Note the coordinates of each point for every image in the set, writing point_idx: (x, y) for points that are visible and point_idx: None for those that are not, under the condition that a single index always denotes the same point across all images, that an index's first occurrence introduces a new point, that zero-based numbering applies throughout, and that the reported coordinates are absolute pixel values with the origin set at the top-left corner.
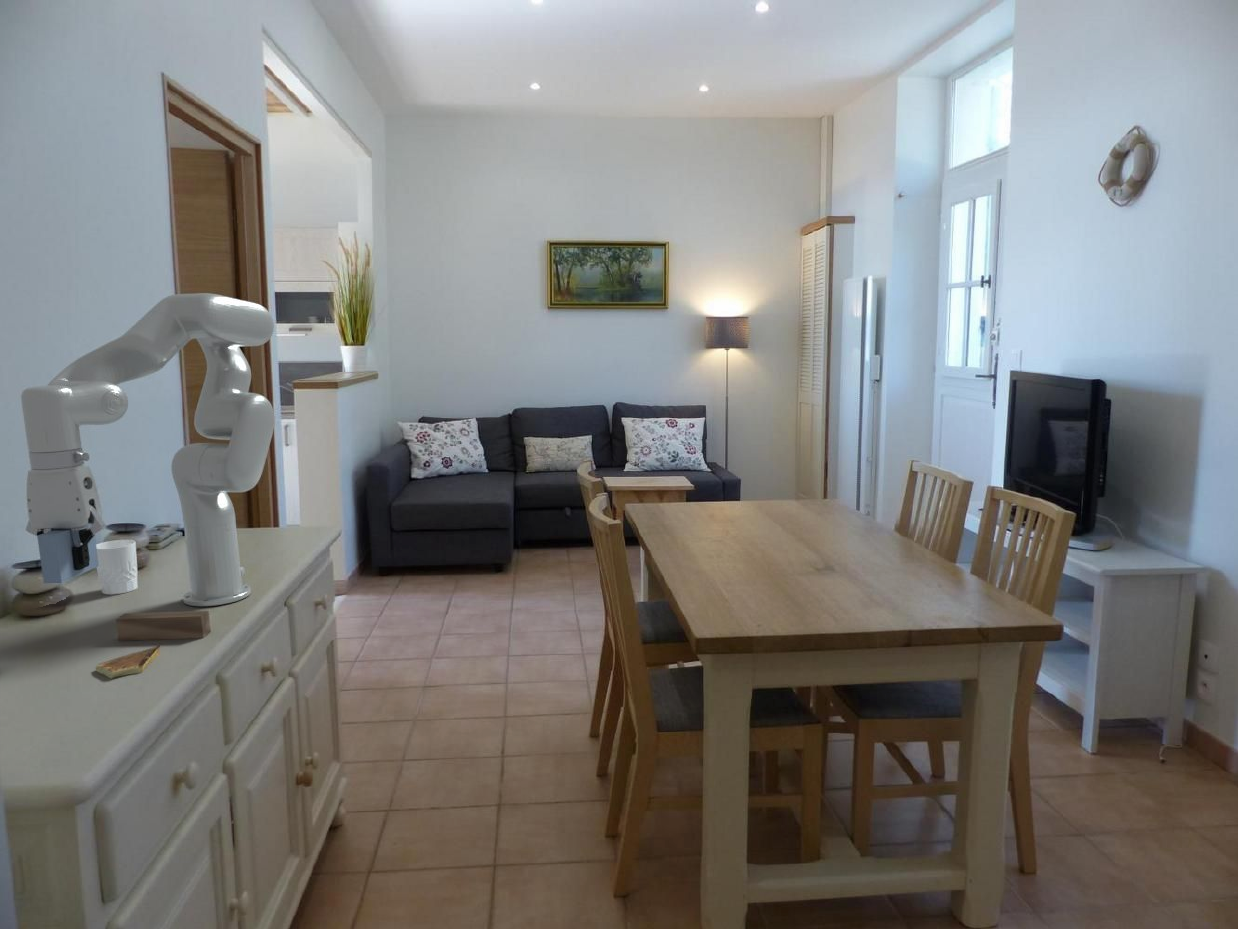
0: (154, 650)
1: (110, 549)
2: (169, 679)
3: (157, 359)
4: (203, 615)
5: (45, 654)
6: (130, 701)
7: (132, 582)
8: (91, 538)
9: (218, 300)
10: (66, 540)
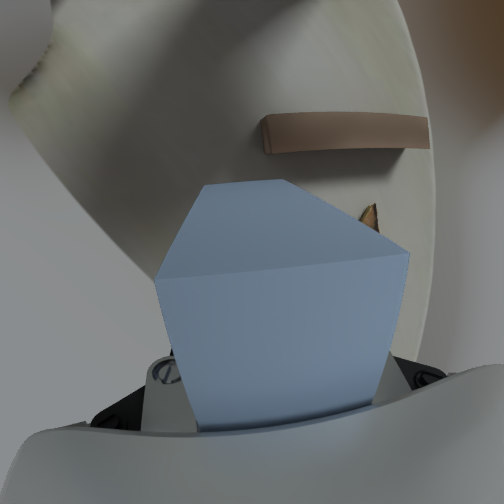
0: (376, 229)
1: None
2: (415, 299)
3: None
4: (428, 139)
5: (167, 229)
6: (394, 349)
7: None
8: (401, 362)
9: None
10: None
